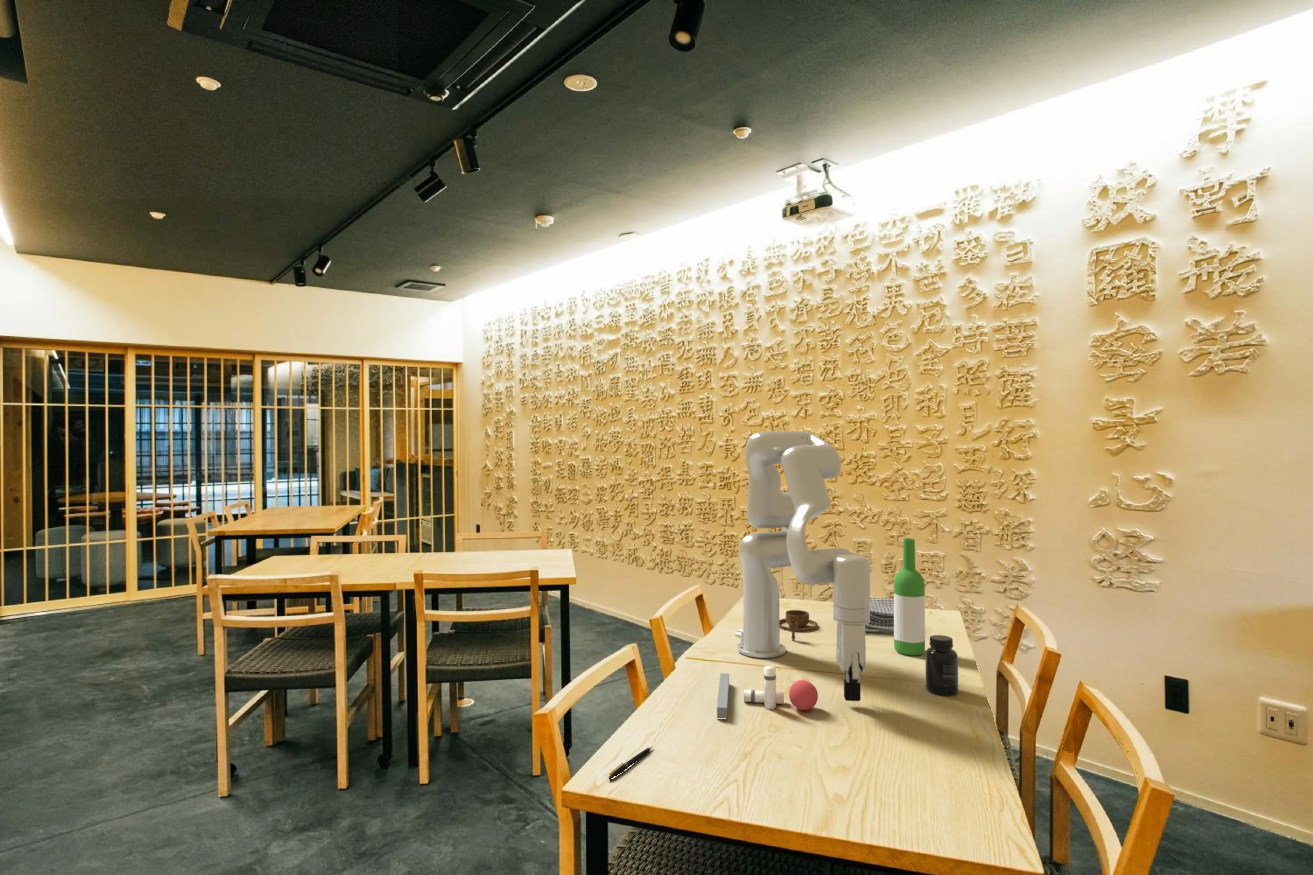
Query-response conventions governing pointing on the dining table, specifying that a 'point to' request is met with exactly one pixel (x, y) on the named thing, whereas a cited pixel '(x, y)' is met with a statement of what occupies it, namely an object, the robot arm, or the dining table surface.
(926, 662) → the supplement bottle
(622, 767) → the fountain pen
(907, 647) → the wine bottle
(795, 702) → the ball
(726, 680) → the gray square bar
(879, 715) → the dining table surface
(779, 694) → the pin
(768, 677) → the pin
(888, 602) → the towel
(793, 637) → the place setting
